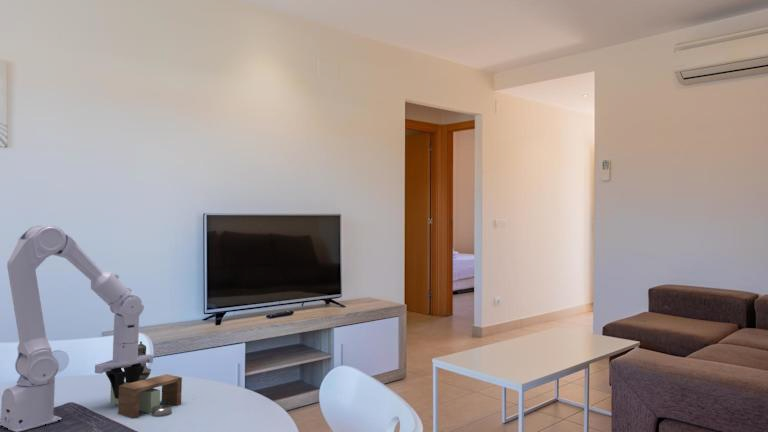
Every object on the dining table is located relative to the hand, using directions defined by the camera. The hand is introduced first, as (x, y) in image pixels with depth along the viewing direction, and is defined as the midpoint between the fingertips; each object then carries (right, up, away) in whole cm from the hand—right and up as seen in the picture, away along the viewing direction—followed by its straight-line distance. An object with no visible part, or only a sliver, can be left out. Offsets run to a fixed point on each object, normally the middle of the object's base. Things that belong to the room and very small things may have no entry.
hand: (124, 396), depth 134 cm
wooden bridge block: (+8, -2, -4) cm, 9 cm away
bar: (+4, -2, -2) cm, 5 cm away
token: (+12, -2, -7) cm, 15 cm away
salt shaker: (-5, -3, +19) cm, 20 cm away
